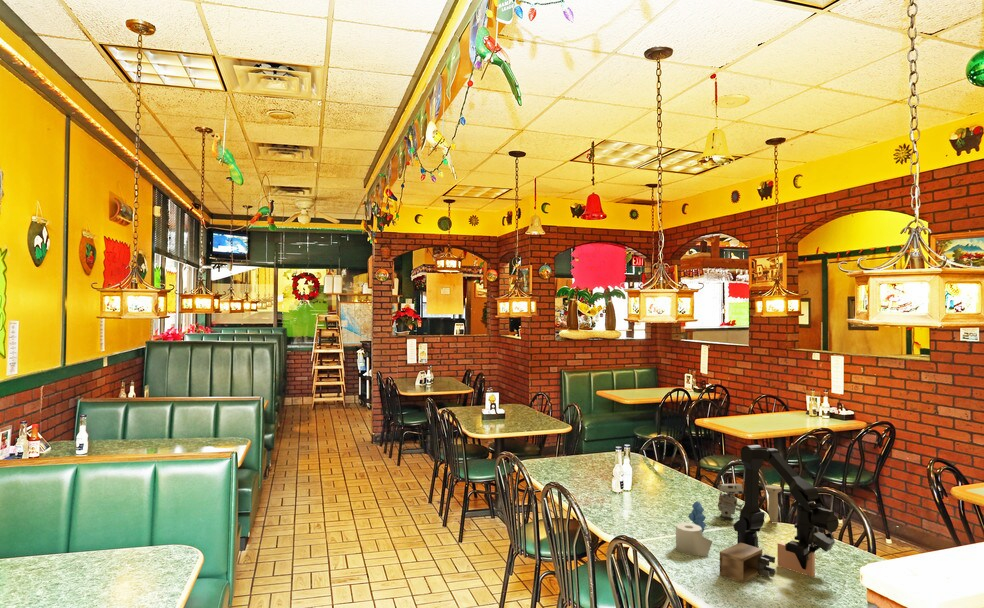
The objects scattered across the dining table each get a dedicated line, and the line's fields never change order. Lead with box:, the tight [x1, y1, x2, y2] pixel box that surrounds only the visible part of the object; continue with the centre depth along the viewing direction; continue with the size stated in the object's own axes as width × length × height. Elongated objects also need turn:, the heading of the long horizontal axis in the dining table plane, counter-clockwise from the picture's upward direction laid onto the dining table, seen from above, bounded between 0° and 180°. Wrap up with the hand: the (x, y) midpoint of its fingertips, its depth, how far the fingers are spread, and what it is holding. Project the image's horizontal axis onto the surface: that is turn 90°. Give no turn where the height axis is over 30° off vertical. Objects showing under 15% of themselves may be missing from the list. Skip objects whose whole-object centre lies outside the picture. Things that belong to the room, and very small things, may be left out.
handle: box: [764, 484, 782, 523], centre depth 262 cm, size 5×6×15 cm
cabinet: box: [719, 542, 763, 584], centre depth 207 cm, size 8×14×8 cm, turn 129°
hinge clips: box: [758, 553, 776, 579], centre depth 207 cm, size 4×5×6 cm
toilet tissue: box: [675, 522, 713, 557], centre depth 228 cm, size 9×13×9 cm
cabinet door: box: [777, 541, 816, 578], centre depth 210 cm, size 12×2×8 cm, turn 39°
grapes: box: [687, 500, 707, 534], centre depth 249 cm, size 12×7×12 cm, turn 178°
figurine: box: [717, 482, 745, 521], centre depth 267 cm, size 9×12×15 cm
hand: (806, 567), depth 208 cm, fingers open, 3 cm apart
